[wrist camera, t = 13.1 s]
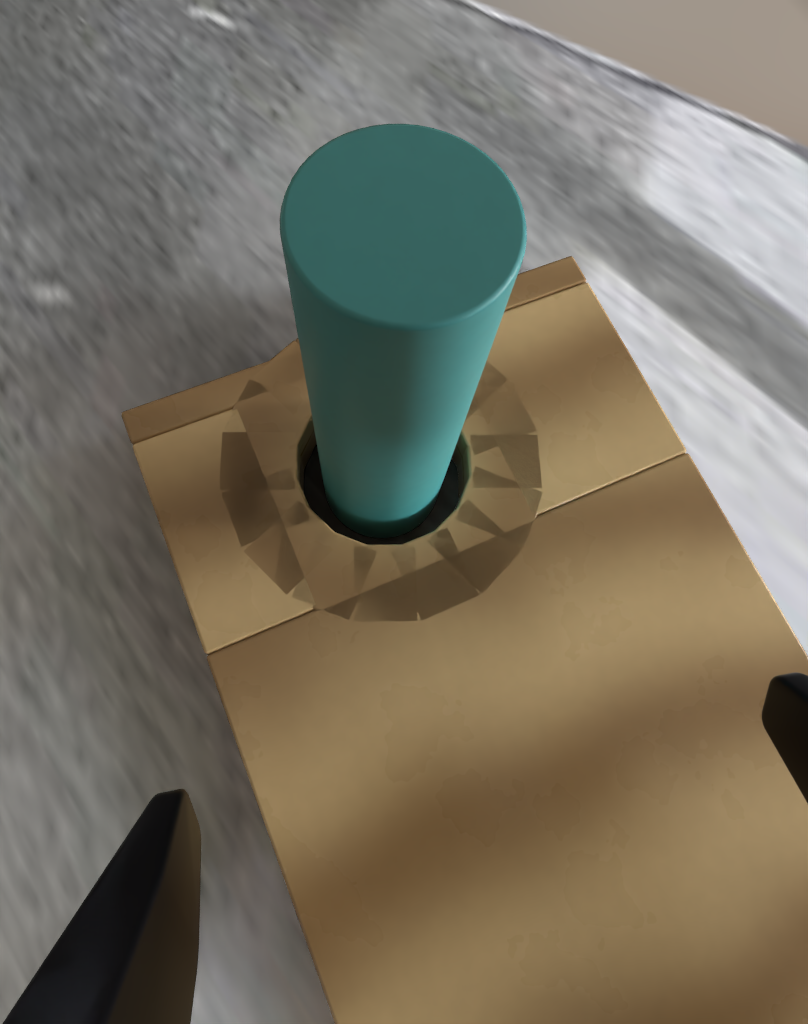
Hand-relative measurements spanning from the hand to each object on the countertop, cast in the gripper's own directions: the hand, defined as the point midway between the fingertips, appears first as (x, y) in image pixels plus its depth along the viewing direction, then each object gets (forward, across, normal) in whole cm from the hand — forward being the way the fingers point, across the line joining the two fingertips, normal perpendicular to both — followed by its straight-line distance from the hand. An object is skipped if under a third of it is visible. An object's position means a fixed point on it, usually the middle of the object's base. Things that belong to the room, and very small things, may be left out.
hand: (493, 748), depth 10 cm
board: (+7, -2, +5) cm, 9 cm away
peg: (+11, 0, +1) cm, 11 cm away
